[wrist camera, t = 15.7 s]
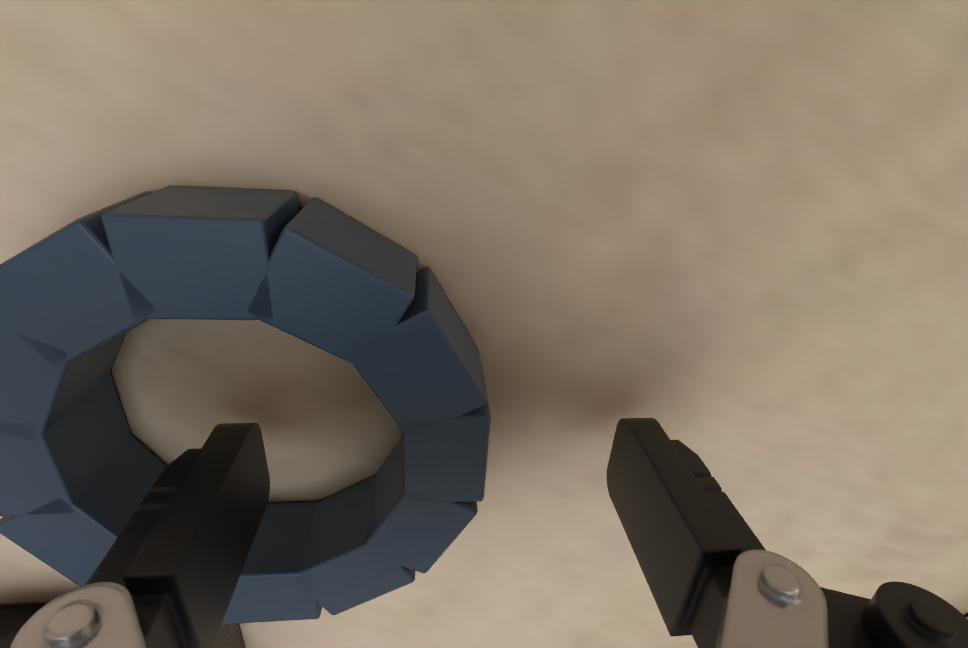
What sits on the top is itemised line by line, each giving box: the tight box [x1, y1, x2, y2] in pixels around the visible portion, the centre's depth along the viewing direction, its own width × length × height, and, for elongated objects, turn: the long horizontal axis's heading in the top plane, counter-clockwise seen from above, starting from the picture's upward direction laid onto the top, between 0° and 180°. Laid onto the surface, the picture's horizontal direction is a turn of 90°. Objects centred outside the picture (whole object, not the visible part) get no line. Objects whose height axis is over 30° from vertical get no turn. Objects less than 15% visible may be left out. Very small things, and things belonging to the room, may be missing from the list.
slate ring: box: [0, 186, 491, 624], centre depth 11 cm, size 10×10×2 cm
